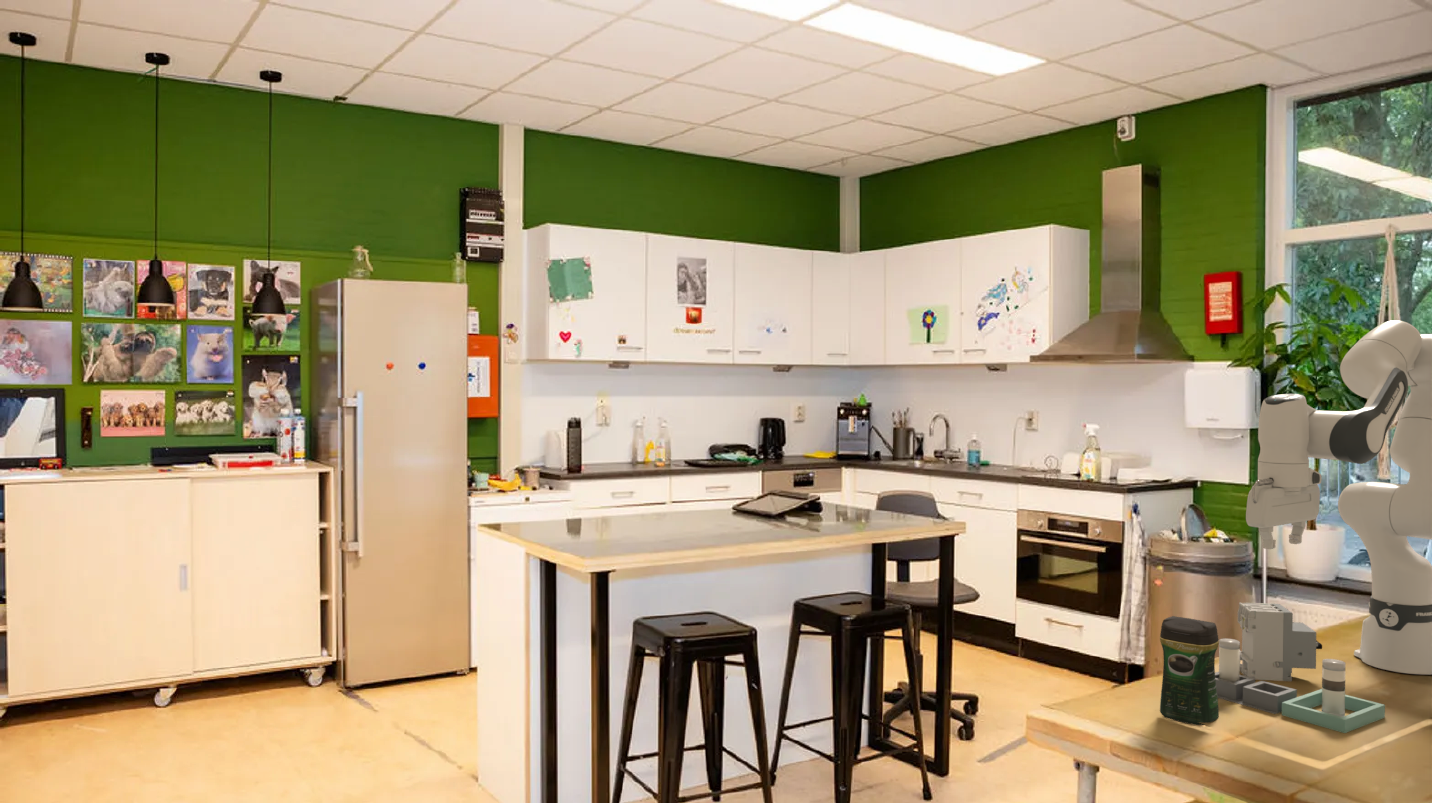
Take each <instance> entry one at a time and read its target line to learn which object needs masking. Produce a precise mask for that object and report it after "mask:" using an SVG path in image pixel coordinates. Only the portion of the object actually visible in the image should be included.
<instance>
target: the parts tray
mask: <svg viewBox="0 0 1432 803" xmlns="http://www.w3.org/2000/svg"><path fill="white" fill-rule="evenodd" d="M1318 706H1322V688H1320V689H1317V690H1315V691H1312V692H1308V693H1306V694H1302V695H1300V696H1297V697H1296V698H1294V699H1291V700H1288V701H1285V702H1282V712H1281V716H1283V717H1286V718H1290V719H1294V720H1297V721H1301V722H1305V723H1308V724H1311V725H1315V726H1318V727H1322V728H1325V729H1329V730H1332V731H1336V732H1339V733H1343V734H1346V733H1348V732H1351V731H1354V730H1356V729H1359V728H1362V727H1365V726H1367V725H1370V724H1372V723H1374V722H1377V721H1380V720H1382V719H1385V717H1386V716H1385V715H1386V705H1385V704H1383V703H1379V702H1376V701H1372V700H1367V699H1364V698H1360V697H1357V696H1353V695H1348V694H1345V710H1347V711H1348V710H1349V711H1352V712H1351V713H1350V714H1345V716H1344V717H1340V716H1336V715H1332V714H1329V713H1325V712H1322V710H1321V711H1320V710H1317V709H1314V708H1315V707H1318Z"/></svg>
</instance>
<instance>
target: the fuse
mask: <svg viewBox="0 0 1432 803" xmlns="http://www.w3.org/2000/svg"><path fill="white" fill-rule="evenodd" d="M1240 648H1241V642H1240V641H1239V640H1237V639H1234V638H1220V639H1219V645H1218V672H1219V679H1222V680H1226V681H1230V682H1233V683H1234V682H1237V681H1239V678H1240V675H1241V674H1240V673H1241V671H1240V664H1241V660H1240V651H1241V649H1240Z"/></svg>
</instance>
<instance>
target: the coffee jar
mask: <svg viewBox="0 0 1432 803" xmlns="http://www.w3.org/2000/svg"><path fill="white" fill-rule="evenodd" d="M1217 628H1218V627H1217V624H1216V623H1215V622H1212V621H1205V620H1201V619H1195V618H1189V617H1182V616H1174V615H1172V616H1169V617H1166V618H1164V619H1163V620H1162V622H1161V627H1160V634H1159V641H1160V645H1161V647H1162V652H1163V653H1162V655H1163V656H1162V657H1163V668H1162V669H1163V670H1162V671H1163V672H1162V681H1161V690H1160V692H1161V693H1160V701H1159V713H1160V714H1161V715H1162V716H1163V717H1164V718H1166V719H1169V720H1172V721H1176V722H1181V723H1184V724H1190V725H1195V726H1205V724H1207V723H1208V724H1209V723H1213V722H1215V721H1217V720H1218V719H1219V718H1220V716H1219V715H1220V711H1219V710H1220V709H1219V700H1218V699H1219V698H1217V690H1216V680H1215V673H1216V670H1215V669H1216V668H1215V662H1216V661H1215V658H1216V652H1217V650H1218V649H1219V640H1220V639H1219V635H1218V634H1219V633H1218V629H1217Z"/></svg>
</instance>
